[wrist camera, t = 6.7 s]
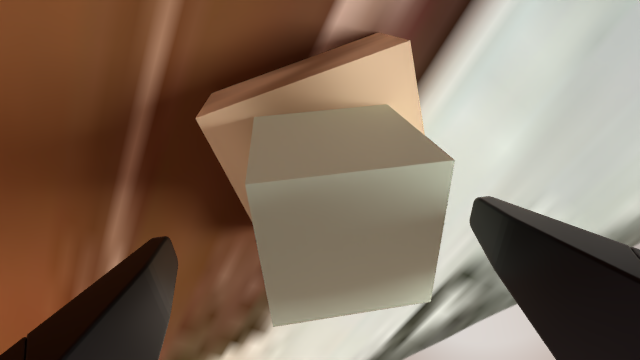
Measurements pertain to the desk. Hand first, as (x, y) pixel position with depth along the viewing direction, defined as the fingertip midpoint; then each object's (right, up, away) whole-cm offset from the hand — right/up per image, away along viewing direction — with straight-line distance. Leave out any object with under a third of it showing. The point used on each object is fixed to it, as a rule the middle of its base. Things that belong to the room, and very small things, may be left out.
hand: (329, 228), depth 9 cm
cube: (0, +2, +4) cm, 4 cm away
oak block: (0, +4, +7) cm, 8 cm away
